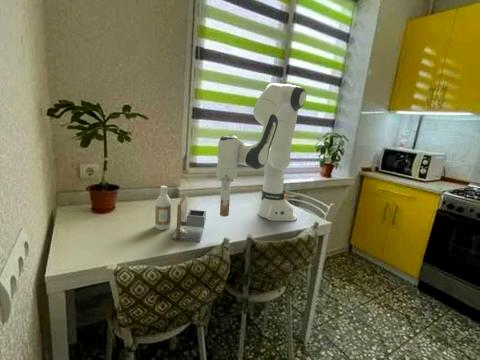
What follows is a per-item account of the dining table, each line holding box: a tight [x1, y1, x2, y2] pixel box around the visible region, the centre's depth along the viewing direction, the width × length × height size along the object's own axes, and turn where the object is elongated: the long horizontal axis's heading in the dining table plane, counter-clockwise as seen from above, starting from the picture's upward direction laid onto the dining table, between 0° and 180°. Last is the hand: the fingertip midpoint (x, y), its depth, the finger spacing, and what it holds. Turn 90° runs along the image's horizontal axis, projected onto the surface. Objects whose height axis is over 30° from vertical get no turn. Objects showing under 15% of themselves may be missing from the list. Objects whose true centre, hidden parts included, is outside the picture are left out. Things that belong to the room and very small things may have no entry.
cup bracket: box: [171, 193, 207, 243], centre depth 126 cm, size 13×16×16 cm
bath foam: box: [154, 185, 172, 231], centre depth 129 cm, size 7×7×20 cm
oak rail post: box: [219, 195, 231, 218], centre depth 125 cm, size 4×4×12 cm
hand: (225, 203), depth 125 cm, fingers closed on oak rail post, 4 cm apart
